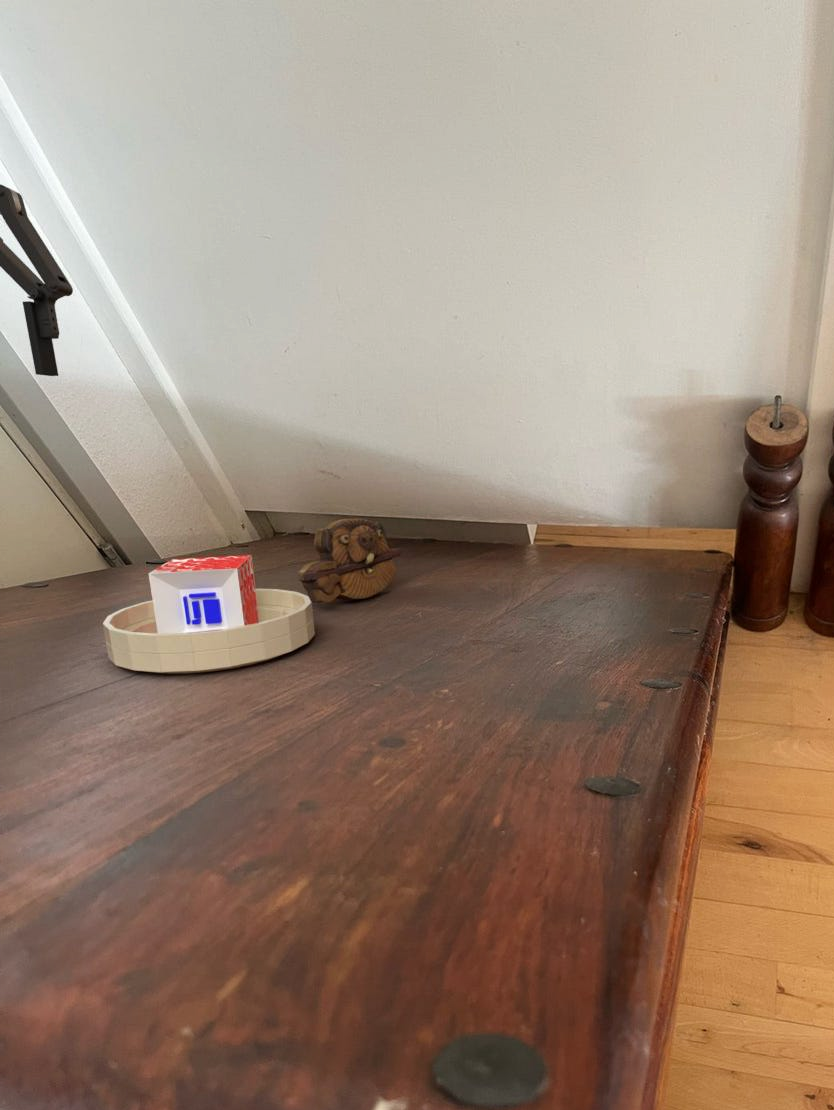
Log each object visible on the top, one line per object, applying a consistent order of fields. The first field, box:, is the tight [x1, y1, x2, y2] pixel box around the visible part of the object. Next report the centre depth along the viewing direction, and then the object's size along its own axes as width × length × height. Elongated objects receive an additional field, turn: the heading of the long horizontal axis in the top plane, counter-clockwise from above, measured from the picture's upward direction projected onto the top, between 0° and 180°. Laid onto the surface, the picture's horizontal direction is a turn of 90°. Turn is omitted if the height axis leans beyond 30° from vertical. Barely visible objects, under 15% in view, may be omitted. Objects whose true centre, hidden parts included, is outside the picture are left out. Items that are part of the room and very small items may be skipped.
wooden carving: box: [297, 518, 403, 604], centre depth 94 cm, size 16×5×10 cm, turn 150°
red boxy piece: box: [147, 554, 259, 634], centre depth 75 cm, size 8×8×8 cm
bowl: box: [102, 588, 316, 675], centre depth 76 cm, size 19×19×4 cm
